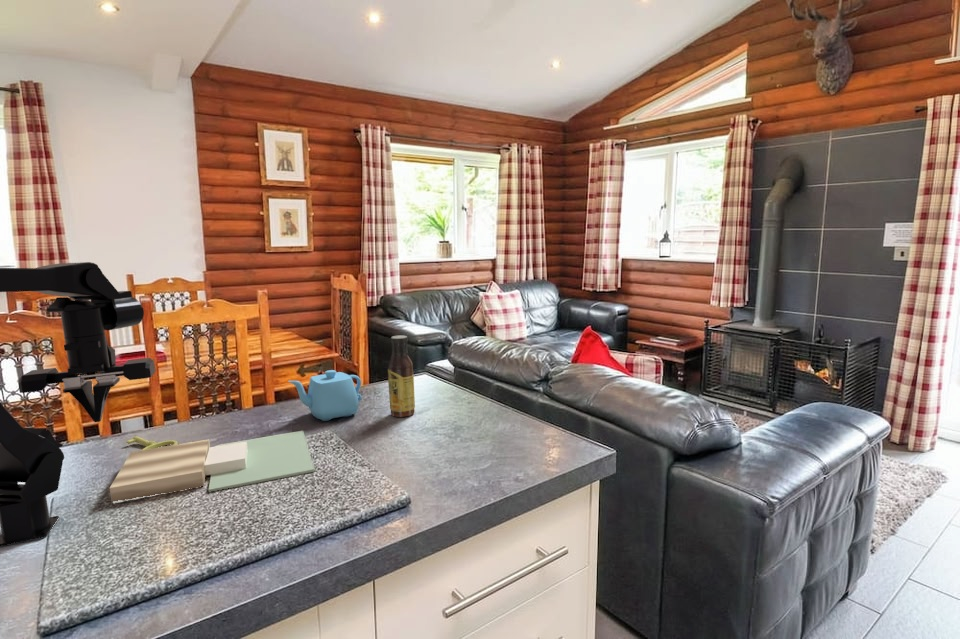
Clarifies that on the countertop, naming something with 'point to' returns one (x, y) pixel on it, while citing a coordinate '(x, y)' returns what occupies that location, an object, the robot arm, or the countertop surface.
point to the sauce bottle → (401, 379)
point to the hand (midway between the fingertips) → (98, 421)
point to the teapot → (331, 395)
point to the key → (150, 443)
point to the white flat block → (226, 458)
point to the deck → (161, 470)
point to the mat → (268, 461)
